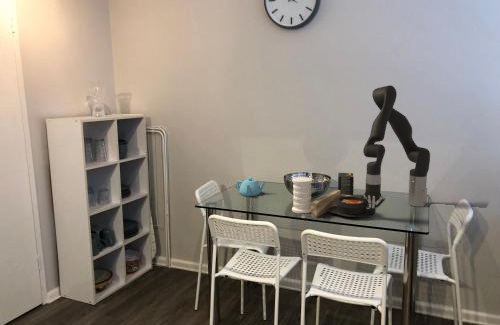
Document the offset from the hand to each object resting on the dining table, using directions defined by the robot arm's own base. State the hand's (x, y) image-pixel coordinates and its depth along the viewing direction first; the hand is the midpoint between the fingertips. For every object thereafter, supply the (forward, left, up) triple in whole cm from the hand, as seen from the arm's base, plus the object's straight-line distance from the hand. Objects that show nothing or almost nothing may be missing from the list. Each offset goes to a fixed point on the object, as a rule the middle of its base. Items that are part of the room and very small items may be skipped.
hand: (372, 214), depth 217 cm
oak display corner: (+19, -1, -2) cm, 19 cm away
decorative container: (+37, +8, -2) cm, 38 cm away
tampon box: (+27, -28, -2) cm, 39 cm away
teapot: (+82, -4, -2) cm, 82 cm away
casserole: (+11, 0, -2) cm, 12 cm away
